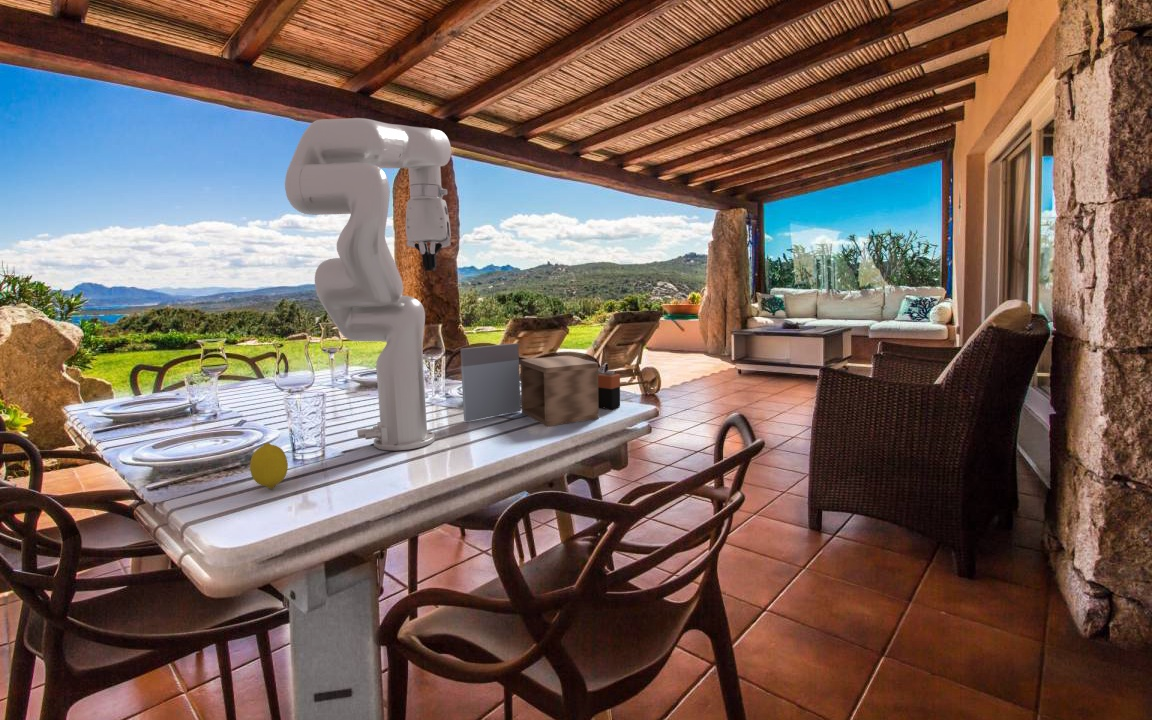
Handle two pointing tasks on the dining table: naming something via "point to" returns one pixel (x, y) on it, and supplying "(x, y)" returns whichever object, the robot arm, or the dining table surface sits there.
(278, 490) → the dining table surface
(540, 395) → the cubby
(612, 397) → the battery
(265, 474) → the lemon
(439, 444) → the dining table surface
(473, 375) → the door
